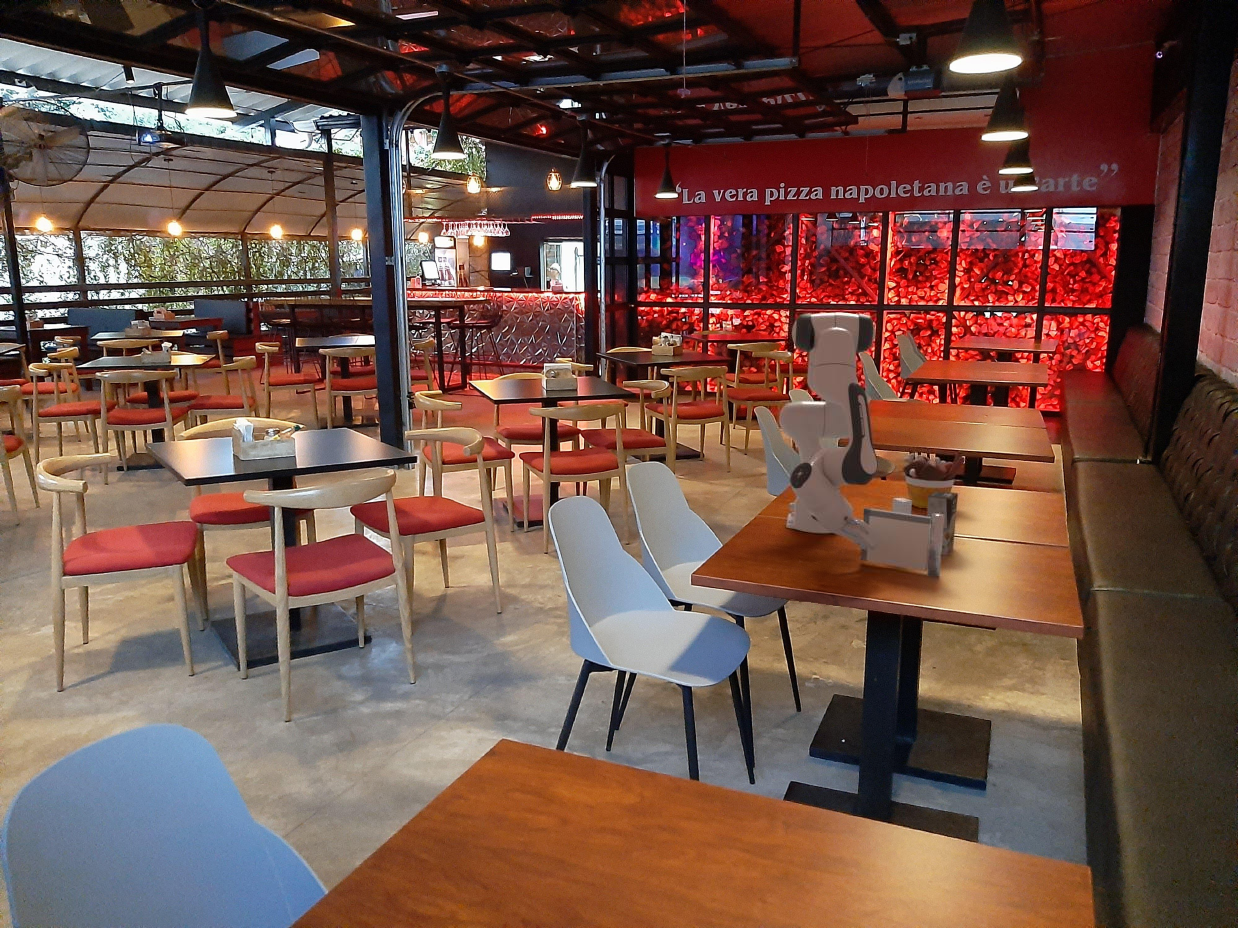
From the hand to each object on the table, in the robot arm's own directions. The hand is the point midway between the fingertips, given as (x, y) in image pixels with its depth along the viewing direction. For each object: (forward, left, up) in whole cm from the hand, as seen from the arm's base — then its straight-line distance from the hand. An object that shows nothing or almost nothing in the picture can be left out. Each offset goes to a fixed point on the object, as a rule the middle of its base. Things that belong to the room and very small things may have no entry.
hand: (864, 546), depth 237 cm
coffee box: (-17, +25, -6) cm, 31 cm away
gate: (+2, +7, -4) cm, 9 cm away
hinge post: (+7, +16, -5) cm, 18 cm away
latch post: (-9, +12, -5) cm, 16 cm away
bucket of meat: (-71, +39, -6) cm, 81 cm away
